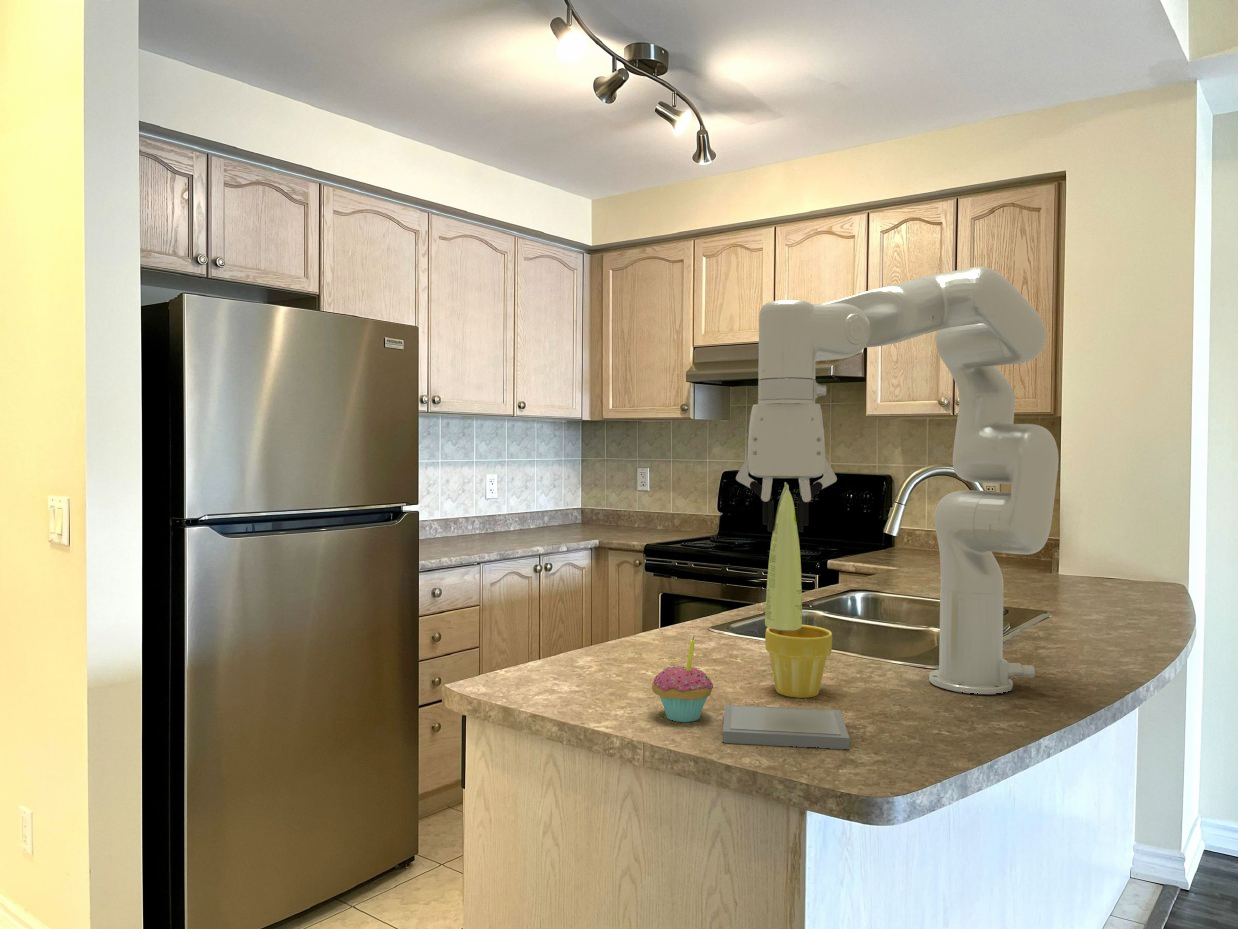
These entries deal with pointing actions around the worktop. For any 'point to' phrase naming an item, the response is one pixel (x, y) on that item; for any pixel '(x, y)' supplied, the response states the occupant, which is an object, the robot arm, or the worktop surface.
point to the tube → (784, 570)
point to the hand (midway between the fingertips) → (785, 529)
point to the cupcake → (683, 690)
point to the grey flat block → (785, 727)
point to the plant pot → (798, 659)
